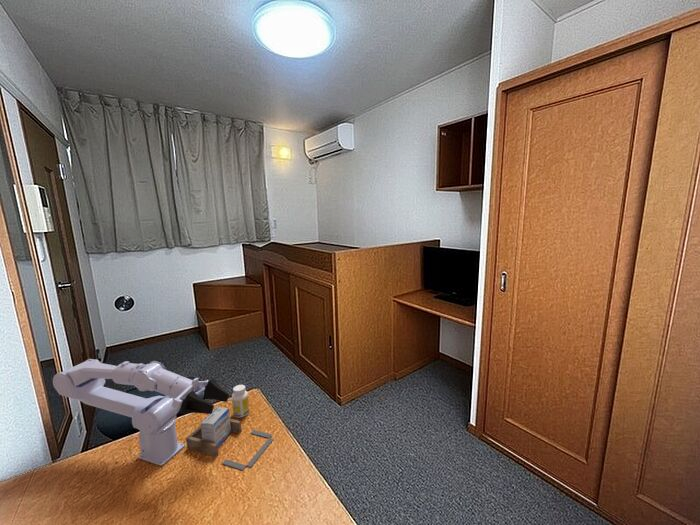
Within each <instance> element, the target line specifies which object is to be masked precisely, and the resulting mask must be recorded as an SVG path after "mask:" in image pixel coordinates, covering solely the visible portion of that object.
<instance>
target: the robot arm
mask: <svg viewBox="0 0 700 525" xmlns="http://www.w3.org/2000/svg"><path fill="white" fill-rule="evenodd" d="M109 379H110V380H112V381H113V382H114V384H119V385H126V386H127V385H129V386H133V387H135V388H137V389H138V391H139V392H146V391H150V392H154V391H155V392H158V393H160V394H162V395H164V396H162V395H155V396H151V397H148V398H146V397H143V396H138V395H135V394H131V393H127V392H124V391H121V390H118V389H113V388H109V387H106V386H104V385H105V384H106V380H109ZM52 385H53V388H54V389H55V390H56V392H57V393H58V395H59V396H62V397H67V398H69V399H73V400H77V401H79V402H81V403H83V404H84V405H86V406H87V405H88V406H91V407H95V408H97V409H101V410H105V411H108V412H111V413H115V414H117V415H121V416H126V417H129V418H131V425H132V427H133V428H134V429H137V430H139V432H138V443H139V450H140V454H139V455H138V456H137V458H138V459H140V460H142V461H146V462H148V463H151V464H154V465H158V466H160V467H161V466H163V465H165V464H166V463H167V462H168V461H170V460H171V459H172V458H173V457H174V456H175V455H176V454H177V453H179V452H180V451H181V450H182V449H183V448H184V447H185V443H182V442H178V436H177V428H176V420H177V414H178V413H180V414H182V415H187V414H203V415H204V414H205V415H210V414H211V413H212V412H213V411H214V408H215V405H214V404H213V403H211V402H209V401H207V400H216V401H218V402H222V403H224V402H225V403H226V402H228V400H229V397H230V393H229V392H227V391H226V390H224V389H223V387H221V386H220V385H219V383H217V381H216V379H215V378H210V379H206V380H200V378H199V377H194V379H190V378H188V377H185V376H182V375H180V374H177V373H175V372H173V371H170V370H167V368H166V367H165V365H164V364H163V363H162V362H159V361H156V360H152V361H150V362H149V363H147V364H144V363H142V362H141V363H132V362H130V361H127V360H126V361H123V362H121V363H120V364H118V365H113V364H110V363H109V364H107V363H103V362H100V360H98V359H97V358H96V359H93V358H88V359H86V360H85V361H83V362H81V363H79V364H77V365H76V364H75V365H74V366H73V367H70V368H68V369H66V370H63V371H59V372H57V373H56V374H55V375H53V378H52ZM203 392H204V394H205V395H204V398H202V397H200V395H201V394H203ZM179 411H180V412H179Z"/></svg>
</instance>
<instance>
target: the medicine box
mask: <svg viewBox="0 0 700 525" xmlns="http://www.w3.org/2000/svg"><path fill="white" fill-rule="evenodd" d="M230 419H231V417H230V408H228V407H221V406H218V407H216V408H215V409H213V411H212V413H211V414H208V415H207V417H206V418H205V419H203V421H202V422H200V426H201V431H202V440H205V441H209V442H212V443H216V444H218V448H219V447H220V446H221V445H222V444H223V442H224V441H225V440H226V438H227V437H229V435H230V434H231V433H232V431H231V426H230Z"/></svg>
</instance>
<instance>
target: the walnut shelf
mask: <svg viewBox="0 0 700 525" xmlns="http://www.w3.org/2000/svg"><path fill="white" fill-rule="evenodd" d="M230 426H231V432H233V433H238V434H240V433H242V421H241V420H237V419H233V418H230ZM185 442H186V449H187V450H191V451H194V452H197V453H201V454H204V455H206V456H210V457H214V458H217V457H218V456H219V455H220V454H219V447H218V444H216V443H212V442H209V441H205V440H203V439H202V431H201V425H200V426H199V427H197V428H196V429H195V430H193V432H191V433H190V434H189V435H188V436H186V437H185Z"/></svg>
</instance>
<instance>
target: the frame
mask: <svg viewBox="0 0 700 525" xmlns="http://www.w3.org/2000/svg"><path fill="white" fill-rule="evenodd" d="M250 435H254V436H258V437H262V438H266V441H265V442H264V443H263V445H262V446H261V447H260V448H259V450H258V451H257V452H256V453H255V454H254V456H253V457H252V458H251V459H250V461H249V462H248V463H247V464H243V463H240V462H236V461H233V460H230V459H227V458H226V459H225V460H224V461H222V463H221V464H222V465H224V466H227V467H230V468H232V469H233V468H234V469H236V470H238V471H239V470H240V471H244V470H245V469H246V468H247V467H248V468H253V466H254V465H255V464H256V463H257V461H258V460H259V459H260V457H261V455H263V453H264V452H265V451H266V450H267V449H268V447H269V446H270V444H271V443H272V442H273V441H274V438H271V437H272V436H273V434H271V433H269V432H268V433H267V432H264V431H259V430H255V429H252V430H251V431H250Z"/></svg>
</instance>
